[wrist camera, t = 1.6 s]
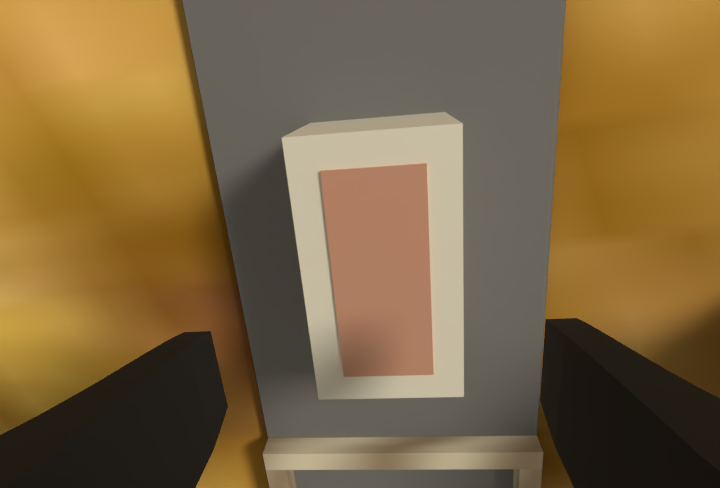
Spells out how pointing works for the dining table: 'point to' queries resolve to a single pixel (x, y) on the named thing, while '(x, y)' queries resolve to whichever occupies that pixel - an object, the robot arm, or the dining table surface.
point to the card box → (381, 253)
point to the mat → (480, 194)
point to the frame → (404, 455)
